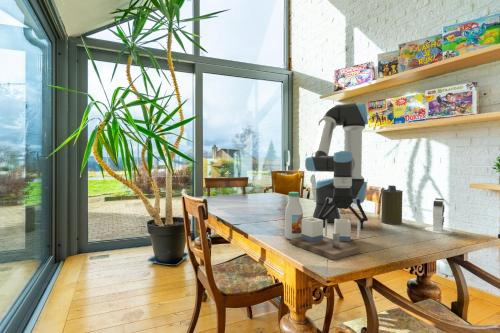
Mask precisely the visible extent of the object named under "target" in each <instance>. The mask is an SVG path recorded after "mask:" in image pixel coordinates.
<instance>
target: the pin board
mask: <svg viewBox="0 0 500 333" xmlns="http://www.w3.org/2000/svg"><path fill="white" fill-rule="evenodd" d="M290 244H291V245H293V246H295V247H298V248H301V249H304V250H307V251H309V252H311V253H314V254H316V255H320V256H322V257H325V258H326V259H330V260H331V261H337V260H339V259H342V258H346V257H349V256H353V255H357V254H359V253H361V252H360V251H361V250H360V248H361V247H360V246H356V245H353V244H350V243H346V242H345V241H339V233H334V232H332V238H330V237H327V236H325V235H323V240H320V241H316V242H310V241H307V240H304V239H302V237H298V238H293V239H290Z"/></svg>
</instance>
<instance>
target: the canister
mask: <svg viewBox="0 0 500 333" xmlns="http://www.w3.org/2000/svg"><path fill="white" fill-rule="evenodd" d="M387 186H388V187H387V189H381V191H380V192H381V207H380V208H381V210H380V211H381V212H380V213H381V214H380V215H381V219H380V223H382V224H386V225H392V226H398V225H403V192H404V191H403V190H400V189H397V187H396V185H387Z"/></svg>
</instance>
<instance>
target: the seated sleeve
mask: <svg viewBox="0 0 500 333" xmlns="http://www.w3.org/2000/svg"><path fill="white" fill-rule="evenodd" d="M323 236H324V228H323V220H321V219H317V218H313V217H307V218H303V219H302V239H304V240H307V241H310V242H316V241H320V240H323Z"/></svg>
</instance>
